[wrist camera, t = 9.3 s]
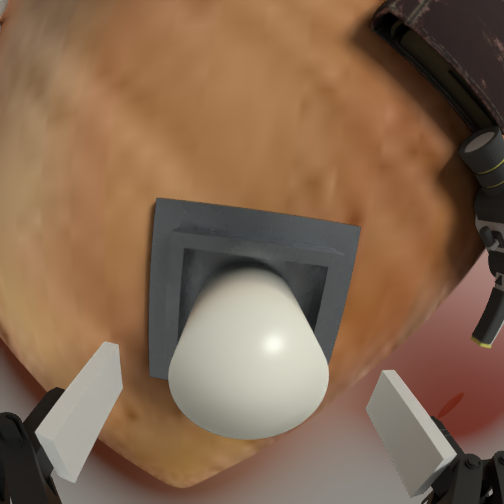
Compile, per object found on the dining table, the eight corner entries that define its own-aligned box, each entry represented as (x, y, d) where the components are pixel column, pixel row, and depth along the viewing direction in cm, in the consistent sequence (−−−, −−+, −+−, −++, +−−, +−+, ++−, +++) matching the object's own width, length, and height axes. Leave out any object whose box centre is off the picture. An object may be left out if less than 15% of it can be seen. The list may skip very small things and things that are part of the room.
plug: (200, 256, 22) (170, 303, 12) (303, 269, 23) (347, 323, 13) (192, 347, 24) (169, 429, 14) (285, 358, 24) (307, 441, 14)
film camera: (390, 215, 24) (471, 128, 22) (465, 343, 26) (530, 259, 24) (431, 221, 17) (513, 117, 15) (499, 370, 19) (565, 270, 17)
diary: (363, 27, 20) (382, 1, 15) (434, -39, 16) (449, -55, 12) (487, 156, 22) (518, 153, 17) (522, 52, 19) (542, 44, 14)
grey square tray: (160, 197, 22) (146, 198, 19) (356, 225, 23) (374, 230, 20) (152, 370, 25) (142, 392, 22) (316, 388, 26) (324, 410, 23)
